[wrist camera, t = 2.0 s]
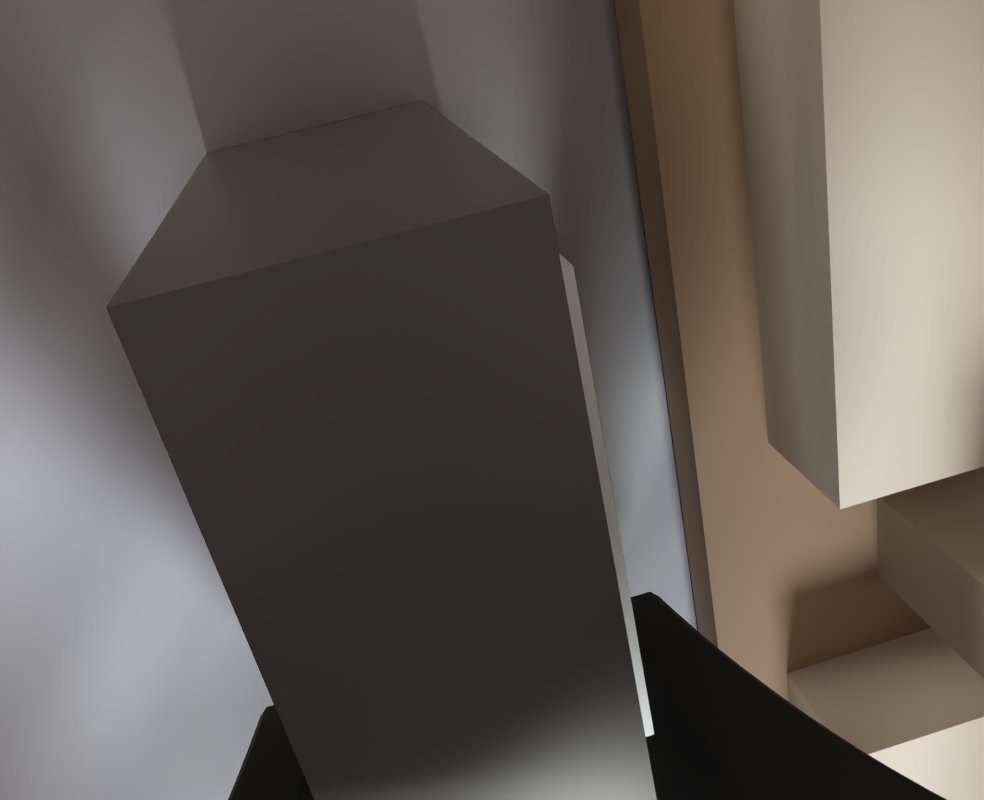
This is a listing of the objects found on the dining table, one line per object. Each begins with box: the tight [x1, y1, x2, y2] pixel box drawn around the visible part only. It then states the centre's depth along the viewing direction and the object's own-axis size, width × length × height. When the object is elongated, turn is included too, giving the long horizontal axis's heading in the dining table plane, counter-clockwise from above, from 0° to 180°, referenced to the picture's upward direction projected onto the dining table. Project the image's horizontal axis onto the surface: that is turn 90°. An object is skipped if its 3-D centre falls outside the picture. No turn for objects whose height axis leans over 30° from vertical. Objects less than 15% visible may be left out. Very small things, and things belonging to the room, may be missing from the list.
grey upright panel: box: [106, 101, 657, 800], centre depth 10 cm, size 14×3×6 cm, turn 12°
